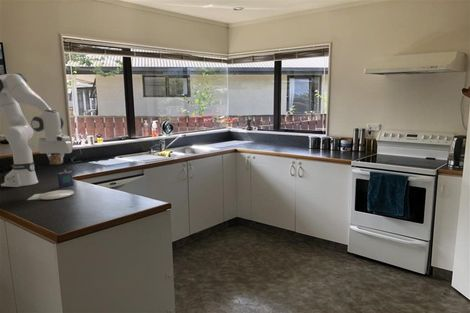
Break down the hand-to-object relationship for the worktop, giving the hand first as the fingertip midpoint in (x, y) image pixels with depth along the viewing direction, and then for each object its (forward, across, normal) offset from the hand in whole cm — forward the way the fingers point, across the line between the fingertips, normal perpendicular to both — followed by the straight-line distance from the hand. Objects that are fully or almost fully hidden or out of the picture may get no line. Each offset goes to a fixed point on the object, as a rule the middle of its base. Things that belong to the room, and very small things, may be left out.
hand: (56, 160), depth 214 cm
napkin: (+18, -4, -13) cm, 23 cm away
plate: (+18, +6, -11) cm, 22 cm away
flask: (+19, -4, +12) cm, 23 cm away
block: (+2, 0, 0) cm, 2 cm away
